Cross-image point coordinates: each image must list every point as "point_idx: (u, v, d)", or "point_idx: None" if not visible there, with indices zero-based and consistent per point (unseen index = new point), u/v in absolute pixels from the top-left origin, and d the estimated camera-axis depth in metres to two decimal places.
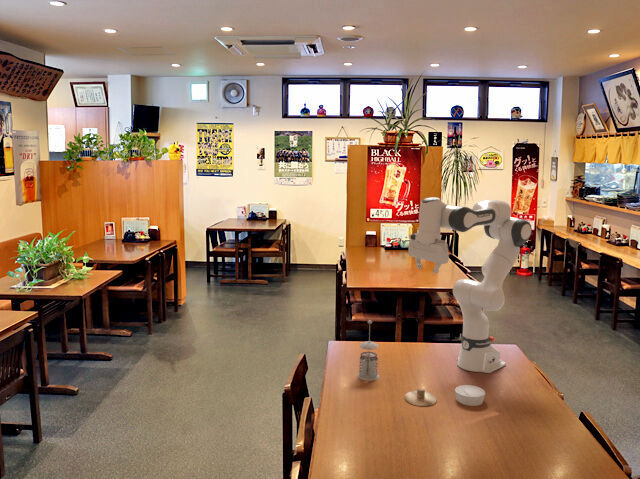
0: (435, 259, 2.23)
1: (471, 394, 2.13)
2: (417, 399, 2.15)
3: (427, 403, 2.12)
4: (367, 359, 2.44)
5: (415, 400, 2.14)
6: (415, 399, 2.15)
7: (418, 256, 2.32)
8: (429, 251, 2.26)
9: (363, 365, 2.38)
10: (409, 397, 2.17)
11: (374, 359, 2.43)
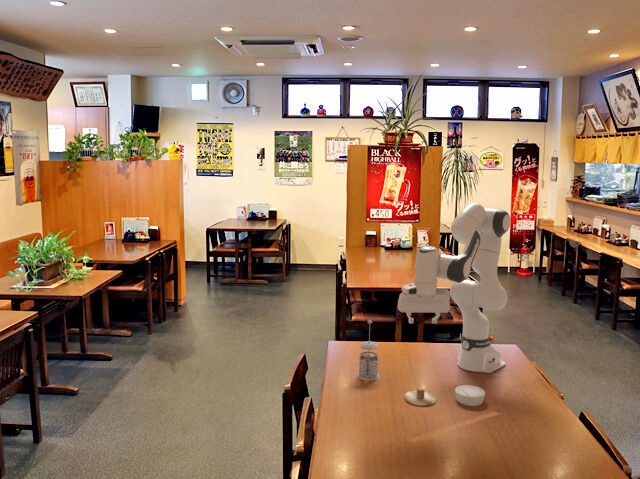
0: (441, 309, 2.18)
1: (471, 394, 2.13)
2: (417, 399, 2.15)
3: (427, 402, 2.12)
4: (367, 359, 2.44)
5: (415, 399, 2.14)
6: (415, 398, 2.15)
7: (415, 310, 2.16)
8: (431, 302, 2.17)
9: (363, 365, 2.38)
10: (409, 397, 2.17)
11: (374, 359, 2.43)
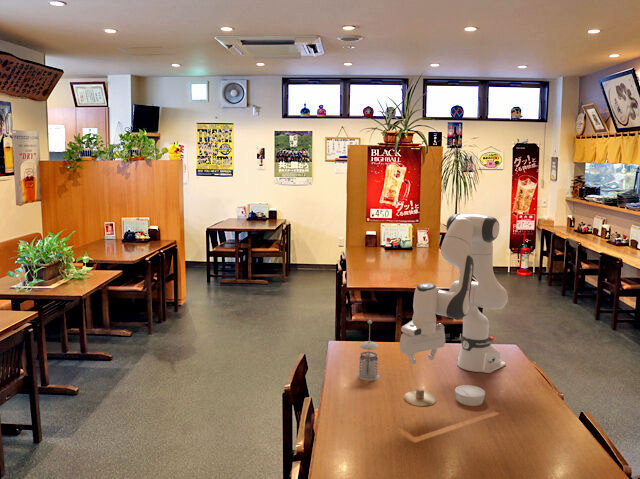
0: (438, 345, 2.15)
1: (471, 394, 2.13)
2: (416, 399, 2.15)
3: (426, 403, 2.12)
4: (367, 359, 2.44)
5: (414, 400, 2.14)
6: (414, 399, 2.15)
7: (418, 350, 2.10)
8: (430, 340, 2.13)
9: (363, 365, 2.38)
10: (408, 397, 2.17)
11: (374, 359, 2.43)
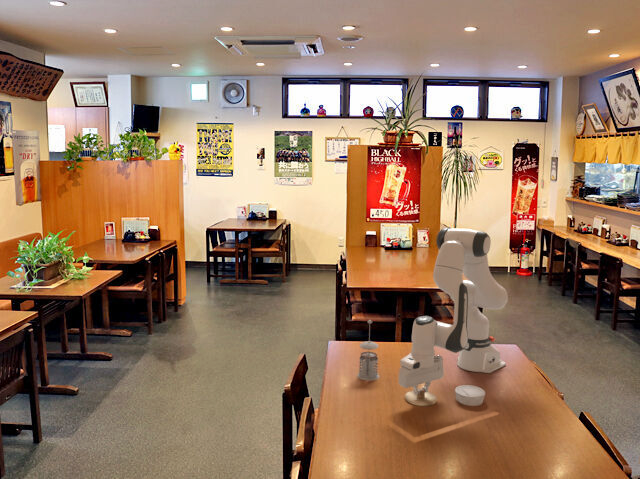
0: (437, 376, 2.17)
1: (471, 394, 2.13)
2: (417, 399, 2.15)
3: (427, 403, 2.12)
4: (367, 359, 2.44)
5: (415, 400, 2.14)
6: (415, 398, 2.15)
7: (417, 383, 2.12)
8: (429, 372, 2.15)
9: (363, 365, 2.38)
10: (409, 397, 2.17)
11: (374, 359, 2.43)
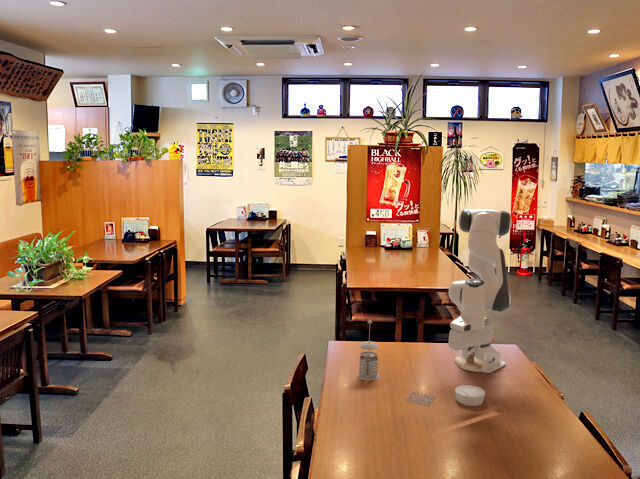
0: (486, 340, 2.15)
1: (471, 394, 2.13)
2: (467, 363, 2.13)
3: (477, 366, 2.10)
4: (367, 359, 2.44)
5: (465, 363, 2.12)
6: (465, 362, 2.13)
7: (467, 346, 2.10)
8: (479, 335, 2.13)
9: (363, 365, 2.38)
10: (458, 361, 2.15)
11: (374, 359, 2.43)
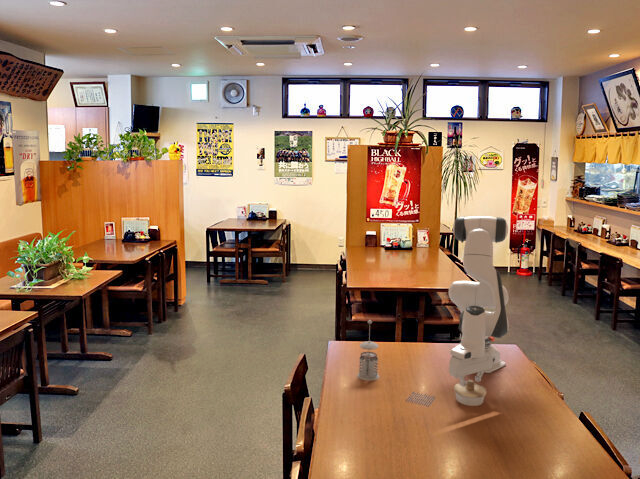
0: (486, 366, 2.17)
1: None
2: (467, 390, 2.14)
3: (478, 394, 2.11)
4: (367, 359, 2.44)
5: (465, 391, 2.14)
6: (465, 390, 2.15)
7: (467, 373, 2.11)
8: (479, 362, 2.14)
9: (363, 365, 2.38)
10: (459, 388, 2.16)
11: (374, 359, 2.43)
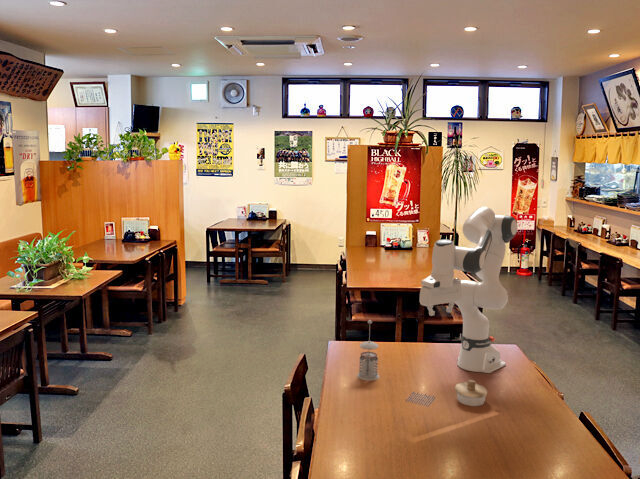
0: (455, 298, 2.28)
1: None
2: (468, 390, 2.14)
3: (479, 394, 2.11)
4: (367, 359, 2.44)
5: (466, 391, 2.13)
6: (466, 390, 2.15)
7: (437, 302, 2.23)
8: (448, 293, 2.26)
9: (363, 365, 2.38)
10: (460, 388, 2.16)
11: (374, 359, 2.43)
